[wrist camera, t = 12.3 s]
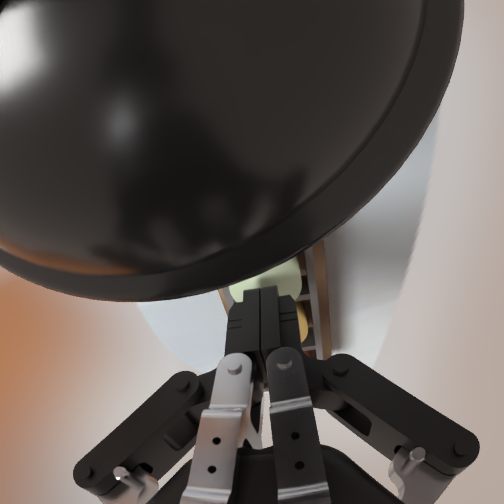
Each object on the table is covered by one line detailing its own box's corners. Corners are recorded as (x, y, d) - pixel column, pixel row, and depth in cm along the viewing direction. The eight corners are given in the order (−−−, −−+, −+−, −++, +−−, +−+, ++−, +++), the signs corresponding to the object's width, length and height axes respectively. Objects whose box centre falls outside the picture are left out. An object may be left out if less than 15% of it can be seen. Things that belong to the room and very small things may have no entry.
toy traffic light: (197, 197, 18) (185, 230, 15) (311, 176, 17) (323, 205, 14) (252, 360, 26) (251, 396, 23) (328, 349, 25) (334, 385, 22)
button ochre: (244, 297, 19) (243, 316, 18) (302, 289, 19) (305, 308, 17) (256, 334, 21) (255, 353, 20) (307, 327, 20) (310, 346, 19)
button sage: (223, 244, 16) (220, 263, 14) (293, 232, 15) (297, 251, 14) (239, 295, 18) (238, 316, 16) (302, 286, 17) (305, 307, 16)
